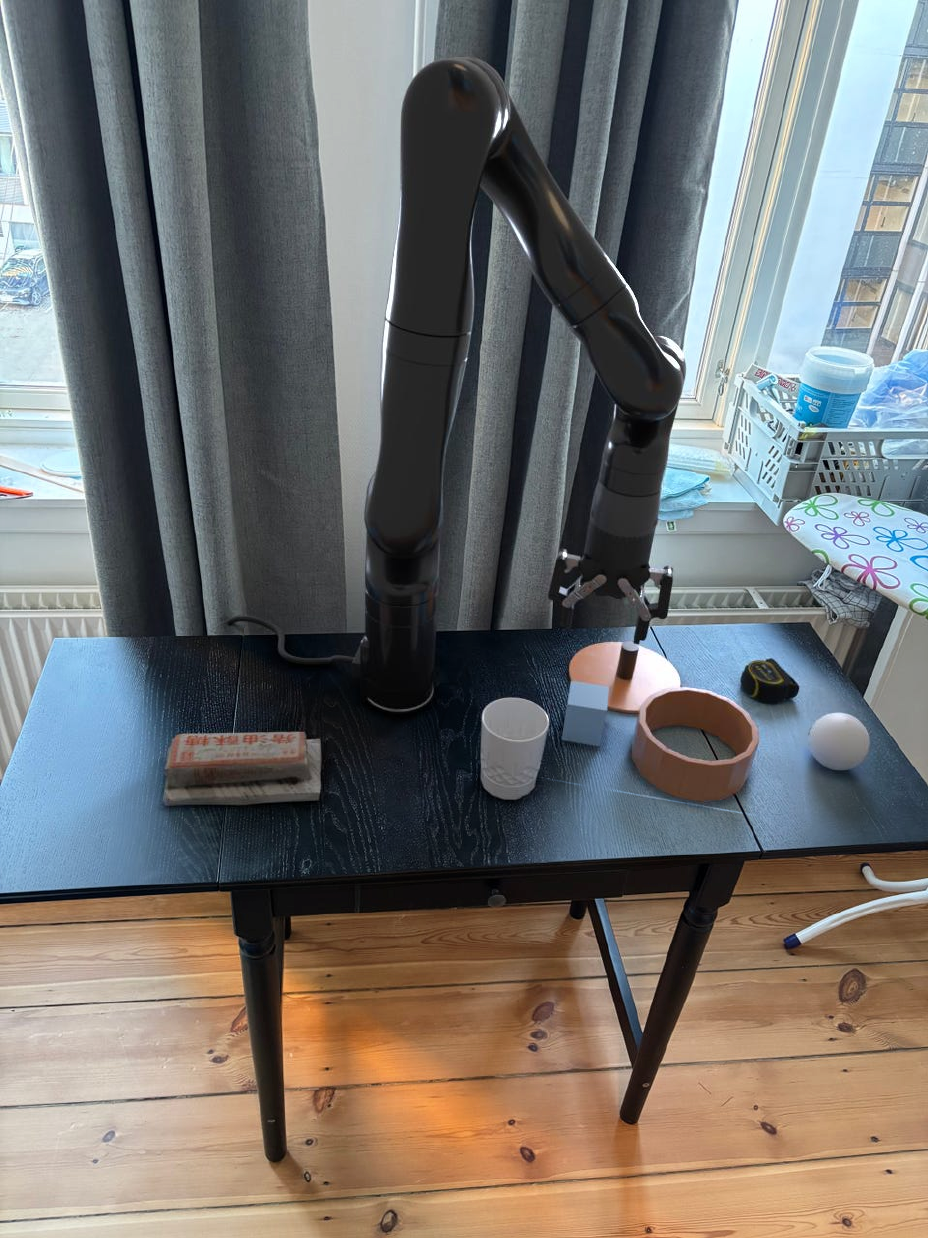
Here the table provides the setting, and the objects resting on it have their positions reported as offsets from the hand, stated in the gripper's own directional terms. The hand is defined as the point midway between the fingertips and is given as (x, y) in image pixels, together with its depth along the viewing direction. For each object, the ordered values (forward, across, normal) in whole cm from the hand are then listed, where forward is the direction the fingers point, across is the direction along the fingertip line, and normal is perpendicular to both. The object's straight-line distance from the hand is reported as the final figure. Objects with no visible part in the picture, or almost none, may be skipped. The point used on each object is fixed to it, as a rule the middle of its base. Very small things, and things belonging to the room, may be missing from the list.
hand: (601, 634), depth 118 cm
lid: (+15, -4, -12) cm, 20 cm away
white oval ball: (+15, -32, -3) cm, 35 cm away
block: (+15, 0, +1) cm, 15 cm away
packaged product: (+16, +39, +20) cm, 47 cm away
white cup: (+16, +8, +12) cm, 21 cm away
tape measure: (+15, -24, -15) cm, 33 cm away
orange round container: (+15, -14, +3) cm, 21 cm away
